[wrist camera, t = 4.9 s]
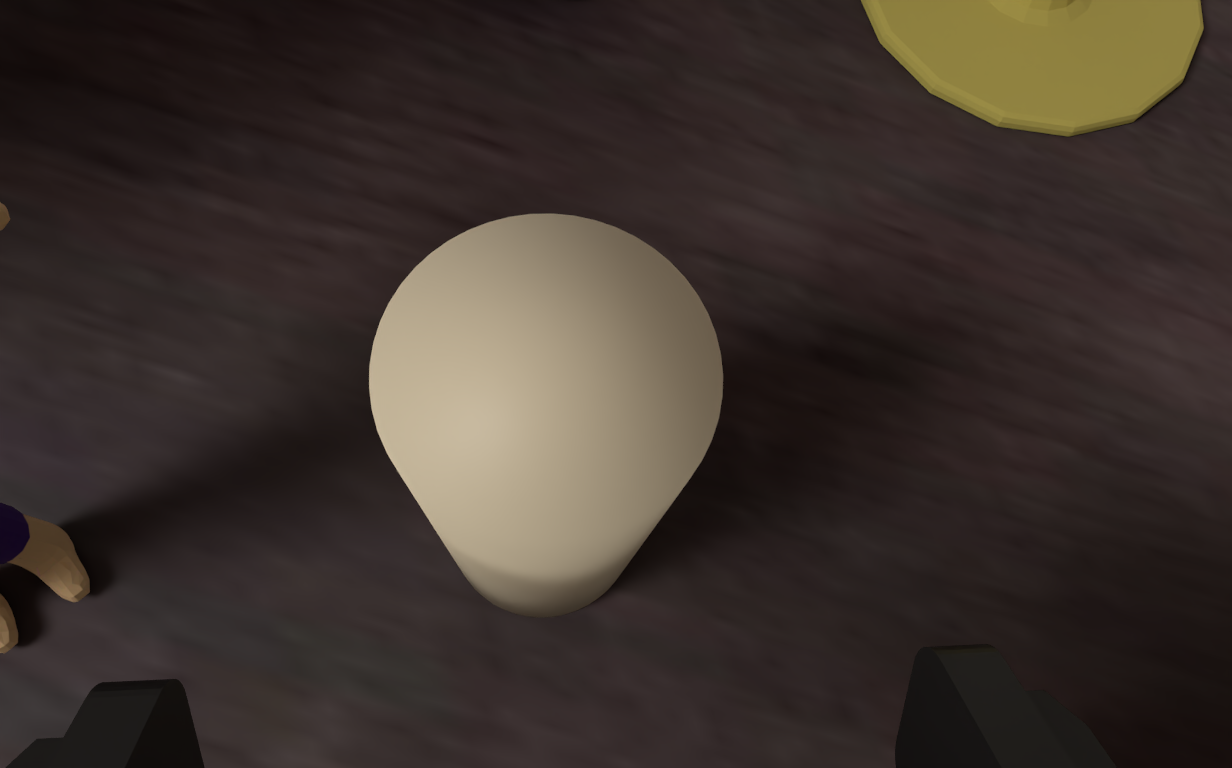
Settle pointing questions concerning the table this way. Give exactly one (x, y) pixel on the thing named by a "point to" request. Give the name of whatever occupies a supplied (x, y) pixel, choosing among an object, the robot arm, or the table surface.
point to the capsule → (545, 402)
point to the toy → (37, 551)
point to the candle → (1043, 56)
